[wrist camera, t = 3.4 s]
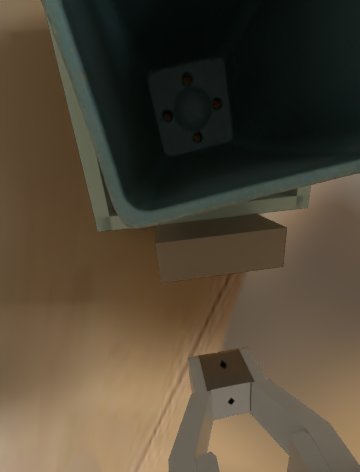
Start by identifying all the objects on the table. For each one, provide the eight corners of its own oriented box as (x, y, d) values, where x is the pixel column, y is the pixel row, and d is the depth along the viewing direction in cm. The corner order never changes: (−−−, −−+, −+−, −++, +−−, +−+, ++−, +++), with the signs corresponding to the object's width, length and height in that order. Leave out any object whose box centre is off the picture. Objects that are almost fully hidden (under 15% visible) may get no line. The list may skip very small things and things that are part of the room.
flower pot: (144, 196, 14) (121, 236, 5) (98, 44, 11) (-104, -384, 3) (261, 166, 14) (416, 159, 6) (247, 8, 11) (526, -502, 3)
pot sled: (293, 13, 11) (431, -149, 6) (277, 226, 15) (346, 258, 10) (68, 23, 10) (-41, -156, 5) (116, 245, 14) (88, 293, 9)
